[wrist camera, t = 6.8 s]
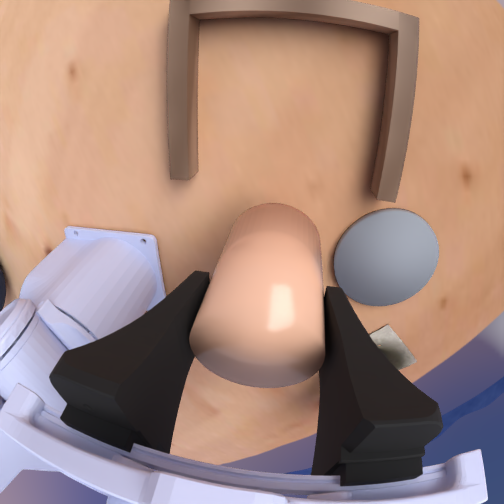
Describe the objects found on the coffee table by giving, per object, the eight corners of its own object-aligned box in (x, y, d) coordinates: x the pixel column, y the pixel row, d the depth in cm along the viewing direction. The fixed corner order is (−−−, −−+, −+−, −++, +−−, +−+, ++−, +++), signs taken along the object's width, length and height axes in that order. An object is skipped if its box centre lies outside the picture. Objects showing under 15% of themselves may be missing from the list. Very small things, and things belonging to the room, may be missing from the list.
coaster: (324, 296, 22) (324, 301, 22) (345, 199, 18) (346, 203, 17) (415, 304, 21) (417, 309, 21) (449, 217, 17) (452, 221, 17)
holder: (181, 170, 18) (170, 179, 17) (181, 5, 12) (170, -1, 11) (387, 191, 17) (395, 202, 16) (408, 23, 11) (419, 17, 10)
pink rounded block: (305, 310, 18) (299, 412, 12) (229, 299, 18) (199, 397, 13) (328, 210, 14) (341, 318, 8) (230, 197, 14) (182, 295, 9)
